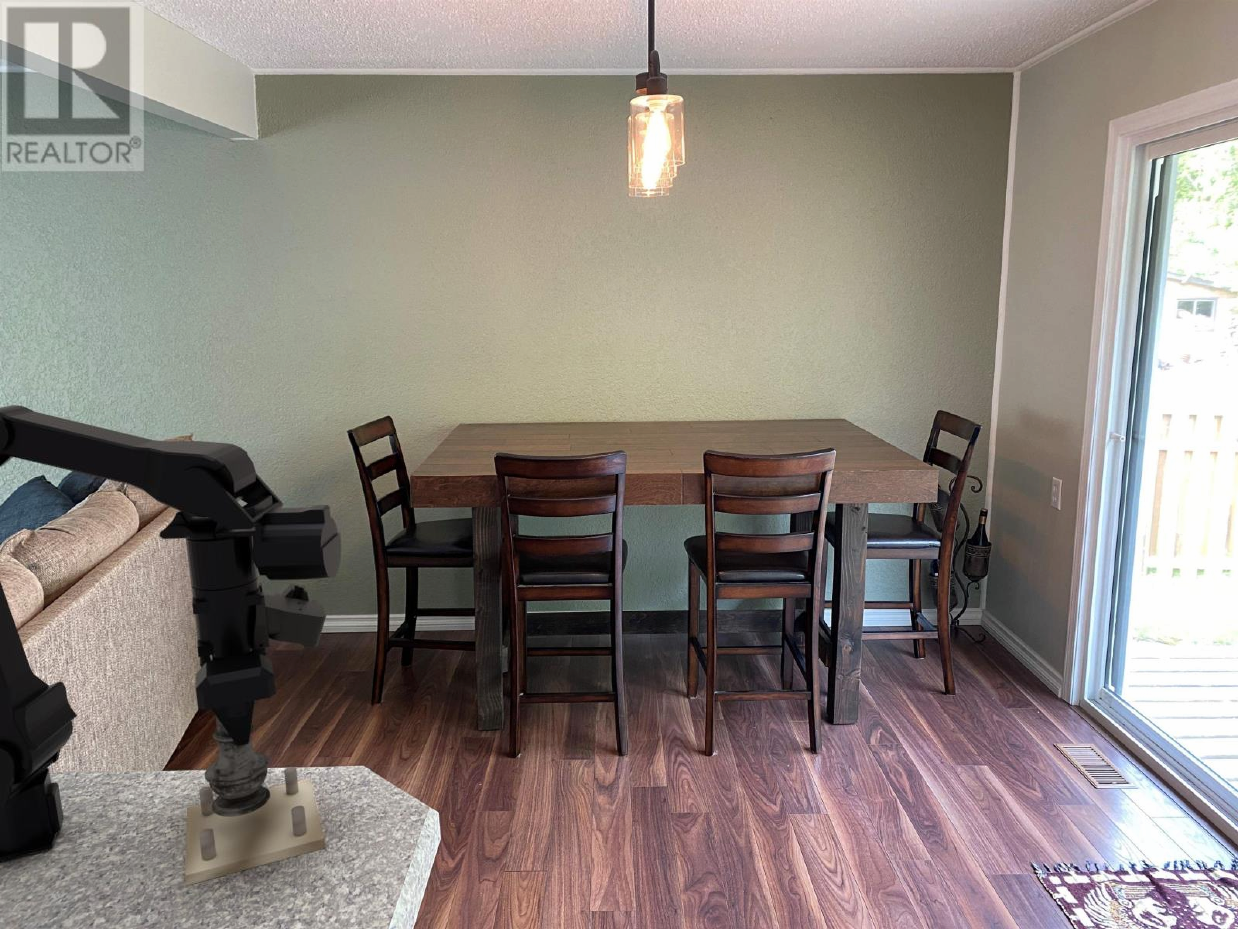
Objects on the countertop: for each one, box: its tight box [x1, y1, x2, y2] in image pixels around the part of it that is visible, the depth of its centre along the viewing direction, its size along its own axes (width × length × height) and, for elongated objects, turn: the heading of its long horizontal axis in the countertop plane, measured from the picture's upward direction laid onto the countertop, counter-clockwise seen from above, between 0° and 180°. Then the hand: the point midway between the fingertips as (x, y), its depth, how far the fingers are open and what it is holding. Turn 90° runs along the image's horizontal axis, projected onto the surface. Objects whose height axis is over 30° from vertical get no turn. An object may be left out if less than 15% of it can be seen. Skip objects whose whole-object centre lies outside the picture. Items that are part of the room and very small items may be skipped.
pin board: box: [184, 766, 326, 886], centre depth 86 cm, size 12×12×4 cm
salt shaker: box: [204, 714, 271, 817], centre depth 85 cm, size 6×6×12 cm
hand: (242, 735), depth 85 cm, fingers closed on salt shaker, 4 cm apart
